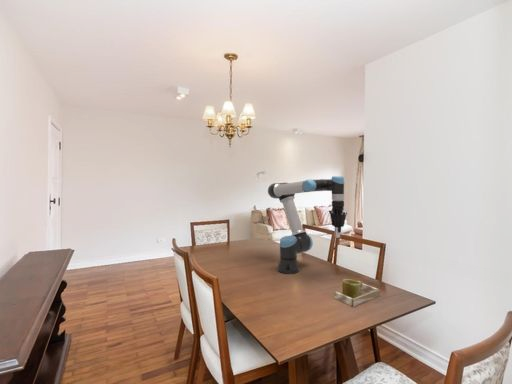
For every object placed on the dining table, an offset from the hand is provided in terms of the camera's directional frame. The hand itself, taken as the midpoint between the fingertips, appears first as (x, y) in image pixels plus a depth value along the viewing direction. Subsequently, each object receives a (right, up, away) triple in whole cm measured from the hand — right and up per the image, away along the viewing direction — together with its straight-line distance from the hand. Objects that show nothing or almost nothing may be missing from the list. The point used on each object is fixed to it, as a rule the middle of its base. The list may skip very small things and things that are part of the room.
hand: (337, 237), depth 177 cm
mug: (+1, -28, -25) cm, 38 cm away
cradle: (+3, -28, -27) cm, 39 cm away
